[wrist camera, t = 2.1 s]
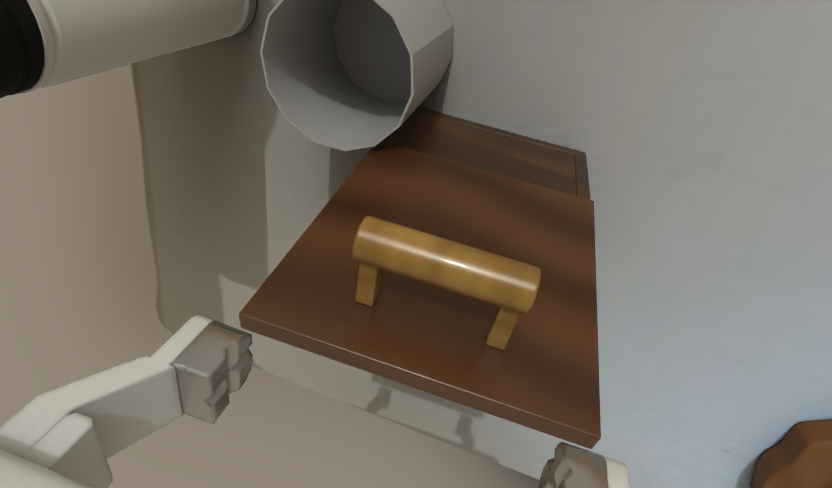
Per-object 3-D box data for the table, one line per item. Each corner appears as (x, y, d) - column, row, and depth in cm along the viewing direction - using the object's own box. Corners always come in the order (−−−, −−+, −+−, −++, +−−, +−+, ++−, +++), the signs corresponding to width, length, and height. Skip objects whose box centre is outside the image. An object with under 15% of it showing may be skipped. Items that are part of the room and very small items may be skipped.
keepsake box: (525, 296, 40) (517, 362, 34) (387, 253, 42) (355, 308, 35) (585, 152, 33) (591, 202, 26) (414, 105, 34) (380, 142, 28)
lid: (591, 450, 15) (658, 372, 12) (239, 328, 17) (227, 233, 14) (588, 212, 26) (623, 141, 23) (376, 151, 28) (385, 78, 25)
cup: (331, 83, 35) (260, 125, 27) (342, -44, 30) (259, -40, 22) (439, 114, 34) (399, 167, 26) (468, -13, 29) (430, 4, 21)
